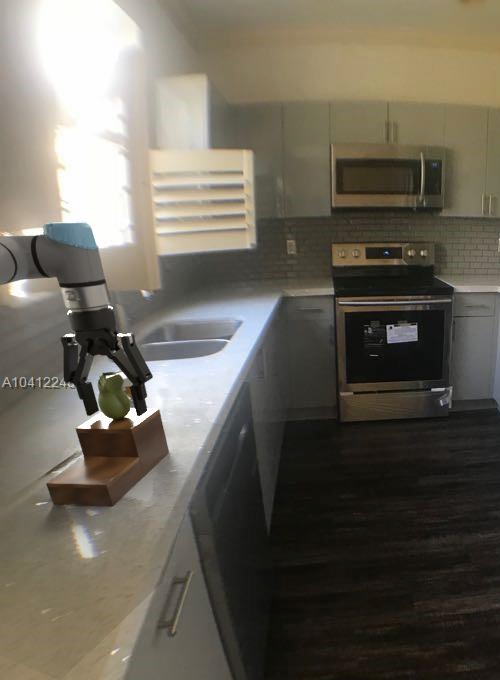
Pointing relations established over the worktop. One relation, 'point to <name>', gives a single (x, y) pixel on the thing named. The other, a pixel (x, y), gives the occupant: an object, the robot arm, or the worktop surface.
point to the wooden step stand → (111, 459)
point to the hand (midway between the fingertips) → (117, 413)
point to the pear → (113, 396)
